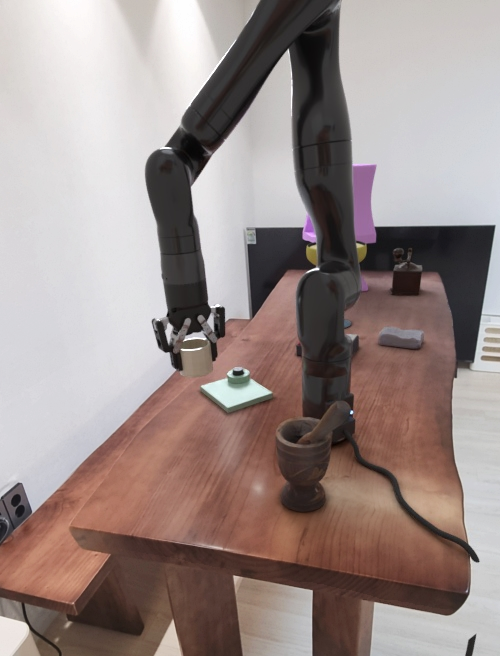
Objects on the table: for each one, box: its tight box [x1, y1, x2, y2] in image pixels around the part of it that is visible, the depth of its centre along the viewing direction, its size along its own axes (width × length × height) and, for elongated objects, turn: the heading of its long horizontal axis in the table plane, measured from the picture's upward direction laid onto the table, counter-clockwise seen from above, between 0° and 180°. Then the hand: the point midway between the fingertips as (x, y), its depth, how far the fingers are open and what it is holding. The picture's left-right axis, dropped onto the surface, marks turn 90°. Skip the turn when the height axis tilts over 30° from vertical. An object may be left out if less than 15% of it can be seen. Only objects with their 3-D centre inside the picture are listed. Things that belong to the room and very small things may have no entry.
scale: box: [199, 368, 274, 414], centre depth 111 cm, size 14×12×3 cm
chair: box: [302, 163, 378, 292], centre depth 183 cm, size 22×22×45 cm
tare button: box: [232, 366, 244, 376], centre depth 115 cm, size 3×3×2 cm
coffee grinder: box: [389, 247, 423, 297], centre depth 175 cm, size 16×11×18 cm
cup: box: [179, 337, 214, 379], centre depth 88 cm, size 6×6×6 cm
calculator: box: [295, 333, 360, 357], centre depth 131 cm, size 11×4×15 cm
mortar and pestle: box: [275, 401, 351, 513], centre depth 71 cm, size 12×9×20 cm
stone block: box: [378, 325, 425, 350], centre depth 134 cm, size 12×5×10 cm
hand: (195, 364), depth 89 cm, fingers closed on cup, 6 cm apart
